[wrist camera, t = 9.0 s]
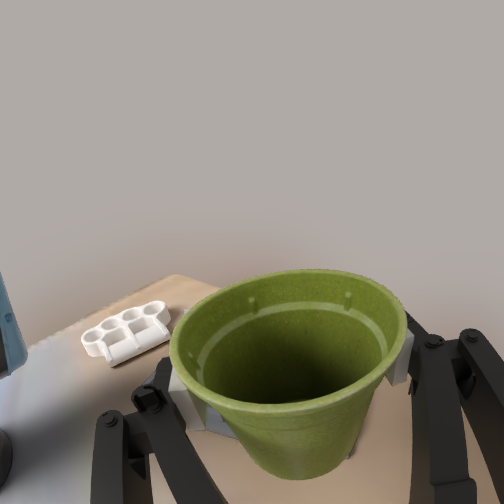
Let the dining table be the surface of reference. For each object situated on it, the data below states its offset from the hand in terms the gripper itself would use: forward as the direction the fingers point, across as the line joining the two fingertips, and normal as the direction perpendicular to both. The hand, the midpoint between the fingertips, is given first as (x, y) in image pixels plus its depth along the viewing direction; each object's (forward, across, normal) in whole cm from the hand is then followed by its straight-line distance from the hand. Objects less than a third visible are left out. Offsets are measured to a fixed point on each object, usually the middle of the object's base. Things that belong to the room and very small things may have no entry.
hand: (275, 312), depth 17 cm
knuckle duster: (+28, -24, -18) cm, 42 cm away
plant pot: (-5, 0, -6) cm, 8 cm away
